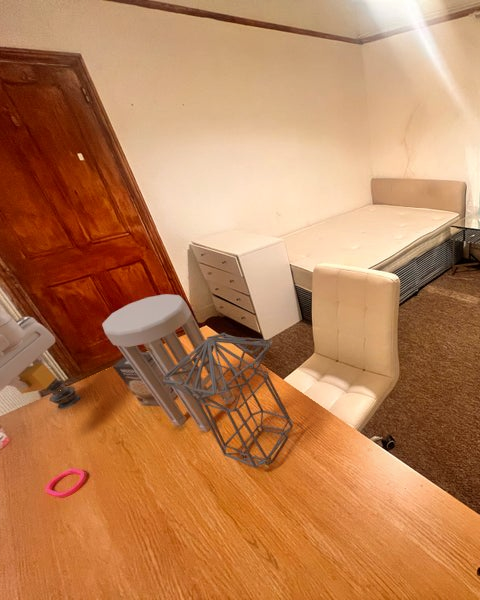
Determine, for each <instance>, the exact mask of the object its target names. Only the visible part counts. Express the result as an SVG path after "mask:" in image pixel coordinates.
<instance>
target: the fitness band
mask: <svg viewBox="0 0 480 600" xmlns="http://www.w3.org/2000/svg"><path fill="white" fill-rule="evenodd" d="M68 475H69V476H70V475H79V476H80V478H79V479H78V482H77V483H76V484H75V485H73V486H72V487H71V488H69V489H67V490H65V491H57V490H53V487H54V486H55V484H57V482H58V481H60V480H61V479H63V478H64V477H66V476H68ZM87 475H88V473H87V472H86V471H84V470H82V469H80V468H79V469H78V468H74V467H70V468H69V469H68V470H66V471H64V472H61V473H60V474H58V475H57V476H55V477H54V478H52V479H51V480H50V481H49V482H48V483H47V484H46V486H45V487H44V490H45V493H46V494H48V495H49V496H52V497H55V498H62V499H63V498H66V497H69V496H71V495H73V494H74V493H76V492H77V491H79V489H80V488H81V487H82V486H83V484H84V482H85V480H86V478H87V477H86V476H87Z"/></svg>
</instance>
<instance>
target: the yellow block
mask: <svg viewBox="0 0 480 600" xmlns="http://www.w3.org/2000/svg"><path fill="white" fill-rule="evenodd" d="M18 377H19V378H20V379H19V381H22V382H24V381H29V382H30V383H31V384H32V386H31V387H30V388H29V389H28V390H26V391H19V392H20V393H21V394H22V395H23V394H27V393H33V392H37V391H43V390H46V388H47V387H48V386H49V385H50V384H51V383H52V382H53V381H54V380H55V379H56V378H57V377H56V375H54V373H53V372H52V371H51V370H50V369H49V368H48V367H47V365H46V364H45V363H44V364H39V365H34V366H33V365H29V366H28V367H27V368H26V369H25V370H24V371H23V372H21V373H20V374H19V375H18Z"/></svg>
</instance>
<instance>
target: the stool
mask: <svg viewBox="0 0 480 600" xmlns="http://www.w3.org/2000/svg"><path fill="white" fill-rule="evenodd" d="M101 325H102V329H103V331H104V334H105V336H106V337H107V338H108V340H109V341H110V343H111V344H112V345H113V346H116V347H117V348H118V349H119V351H120V353H121V354H122V355H123V357H125V358H126V359H127V360H128V362H129V363H130V365H131V366H132V367H133V369H134V370H135V372H136V373H137V374H138V376H139V377H140V378H141V380H142V381H143V383H144V384H145V385H146V387H147V388H148V389H149V391H150V392H151V394H152V395H153V396H154V398H155V399H156V401H157V402H158V403H159V405H160V406H159V407H161V409H162V410H163V412H164V413H165V414H166V416H167V417H168V419H169V420H170V421H171V423H172V425H174V426H177V427H182V426H183V424H185V423H186V421H187V420H188V419H187V418H186V416H185V414H184V413H183V412H182V410H181V408H180V407H179V405H178V404H177V403H176V400H175V399H174V398H175V397H176V398H177V397H178V399H179V400H180V402H181V403H182V405H183V406H184V408H185V410H186V411H187V412H188V414H189V415H190V417H191V418H192V420H193V421H194V424H196V427H197V428H198V429H199V431H200V432H201V431H202V432H205V433H208V432H209V431H211V429H210V427H209V425H208V423H207V421H206V419H205V417H204V415H203V413H202V411H201V409H200V408H199V406H198V404H197V401H196V399H195V398H194V397H193V396H191V395H189V394H186V393H184V392H182V391H180V390H178V389H176V388H174V387H172V386H169V385H167V384H166V385H165V386H164V385H163V383H162V382H161V381H160V379H159V378H158V376H157V375H156V373H155V372H154V370H153V369H152V367H151V366H150V364H149V363H148V361H147V360H146V358H145V357H144V355H143V354H142V353H141V352H142V351H141V350H140V348H139V347H138V346H140V345H143V346H144V348H145V349H146V351H147V352H149V353H150V355H151V356H152V358H153V359H154V361H155V362H156V364H157V366H158V367H159V369H160V370H161V372H162V373H163V375H165V374H166V373H168V372H169V371H170V370H171V369H172V368H174V367H175V366H176V365H177V364H178V363H180V362H181V361H182V360H183V359H184V358H186V357H187V356H188V355H189V354H188V352H187V350H186V348H185V347H184V345H183V343H182V341H181V340H180V338H179V336H178V334H177V332H176V331H177V330H178V329H180V328H182V330H183V332H184V334H185V335H186V337H187V339H188V341H189V343H190V345H191V346H192V348H193V351H194V350H195V349H196V348H197V347H198V346H199V345H200V344H202V343H203V342H204V341H205V340H206V337H205V336H204V334H203V332H202V331H201V328H200V327H199V325H198V323H197V320H196V318H195V317H194V315H193V313H192V311H191V310H190V307H189V305H188V304H187V302H186V301H185V300H184V298H183V297H182V296H181V295H179V294H170V293H168V294H167V293H164V294H158V295H153V296H148V297H144V298H142V299H139V300H136V301H133V302H131V303H128V304H127V305H124V306H122V307H121V308H119V309H118V310H116V311H113V312H112V313H111V314H110V315H109V316H108V317H107V318H106V319H105V320H104V321H103V322H102V324H101ZM162 340H163V341H164V343H165V344H164V343H163V341H162ZM166 346H167V347H166ZM167 348H168V349H167ZM168 350H169V351H170V352H169V351H168ZM207 351H208V349H207ZM170 353H171V354H170ZM199 354H200V353H199ZM199 354H198V356H199ZM172 356H173V357H172ZM198 356H197V357H198ZM208 356H209V354H208ZM173 358H174V359H173ZM190 359H191V358H189V359H188V360H187V361H189V360H190ZM201 360H202V357H201V359H200V361H201ZM207 360H208V359H207V356H206V357H205V361H204V363H205V362H207ZM175 361H176V362H175ZM187 361H186V362H187ZM213 362H214V363H215V364H218V360H217V358H215V356H214V355H213ZM176 363H177V364H176ZM194 364H195V363H194V361H192V362H190V363H189V364H187V365H186V366H184V367H182V368H181V369H179V370H178V371H176V372H180V371H184V370H189V369H192V368H193V366H194ZM218 365H219V364H218ZM203 369H204V370H205V371H206V373H207V375H206V376H205V377H204V378H202V376H201V377H200V379H201V386H202V389H203V390H205V389H207V388H208V386H207V385H208V383H210V382H211V373H210V363H208V364H207V365H205V366H204V367H203ZM214 370H215V377H216V380H217V379H218V378H219V377H220V376H221V371H220V367H219V366H217V365H214ZM189 374H190V372H187V373H182V374H178V375H173V376H171V377H170V378H169V379H168V380H171V381H178V382H183V383H185V382H186V380H187V378H188V376H189ZM185 377H186V378H185ZM166 378H167V377H166ZM196 379H197V370H196V371H194V373H193V375H192V377H191V379H190V381H189V383H188V385H190V386H192V387H195V383H196ZM224 379H225V382H226V384H227V383H228V381H227V379H226V376H224ZM175 385H177V386H179V387H181V388H183V389H185V390H186V388H185V387H184V386H183V385H178V384H175ZM216 385H217V392H220V391H222V388H223V387H224V382H223V378H222V377H221V378H220V379H219V380H218V381H217V382H216ZM228 387H231V385H229V386H228ZM171 388H173V390H174V391H173V392H172V393H170V394H169V392H168V390H169V389H171ZM198 389H199V384H198ZM189 390H190V391H191V392H192V393H195V392H194V391H193V390H191V389H189ZM232 390H233V389H230V390H228V391H226V392H223V393H220V394H218V395H219V397H220V398H221V400H222V403H223V404H226V405H230V406H231V405H233V403H234V402H235V401H236V400H237V399H236V396H235V394H234V392H233V391H232ZM208 391H212V386H211V387H210V388H209V389H208ZM199 393H200V392H199ZM195 394H196V393H195ZM205 394H207V393H204V394H203V395H205ZM196 398H197V399H198V398H199V397H196ZM173 399H174V400H173ZM204 399H205V398H204ZM200 401H201V402H202V400H200ZM205 401H207V400H206V399H205ZM207 416H208V418H209V420H210V422H211V424H212V426H213V427H214V425H213V423H212V421H211V419H210V416H209V414H207Z"/></svg>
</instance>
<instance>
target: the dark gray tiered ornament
mask: <svg viewBox="0 0 480 600" xmlns="http://www.w3.org/2000/svg"><path fill="white" fill-rule="evenodd" d="M45 390H46V391H49V392H50V393H51V395H50V397H49V398H48V399H49V402H51V403H53V404H56V405H57V404H58V405H57V408H58V409H60V410H63V409H67V408H69V407H71V406H74V405H75V404H77V403H78V402H79V401H80V400H81V398H82V397H81V396H82V395H80V394H77V392H76V387H75V386H65V385H64V383H63V381H62V380H59V379H58V378H57V377H56V379H55V380H54V381H53V382H52V383H51V384H50V385H49V386H48V387H47V388H46V389H45ZM60 390H61V391H60Z"/></svg>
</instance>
